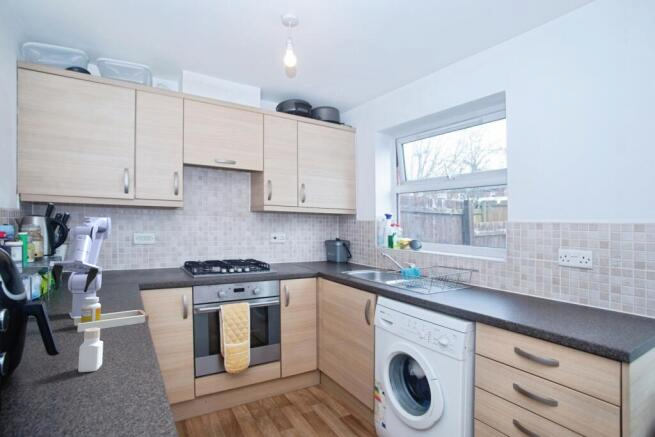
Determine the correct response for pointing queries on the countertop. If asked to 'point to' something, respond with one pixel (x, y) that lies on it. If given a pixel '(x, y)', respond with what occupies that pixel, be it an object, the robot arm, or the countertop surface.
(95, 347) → the white square pill bottle
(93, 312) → the supplement bottle
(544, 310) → the countertop surface
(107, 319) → the white shallow tray
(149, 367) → the countertop surface
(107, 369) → the countertop surface
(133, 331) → the countertop surface
